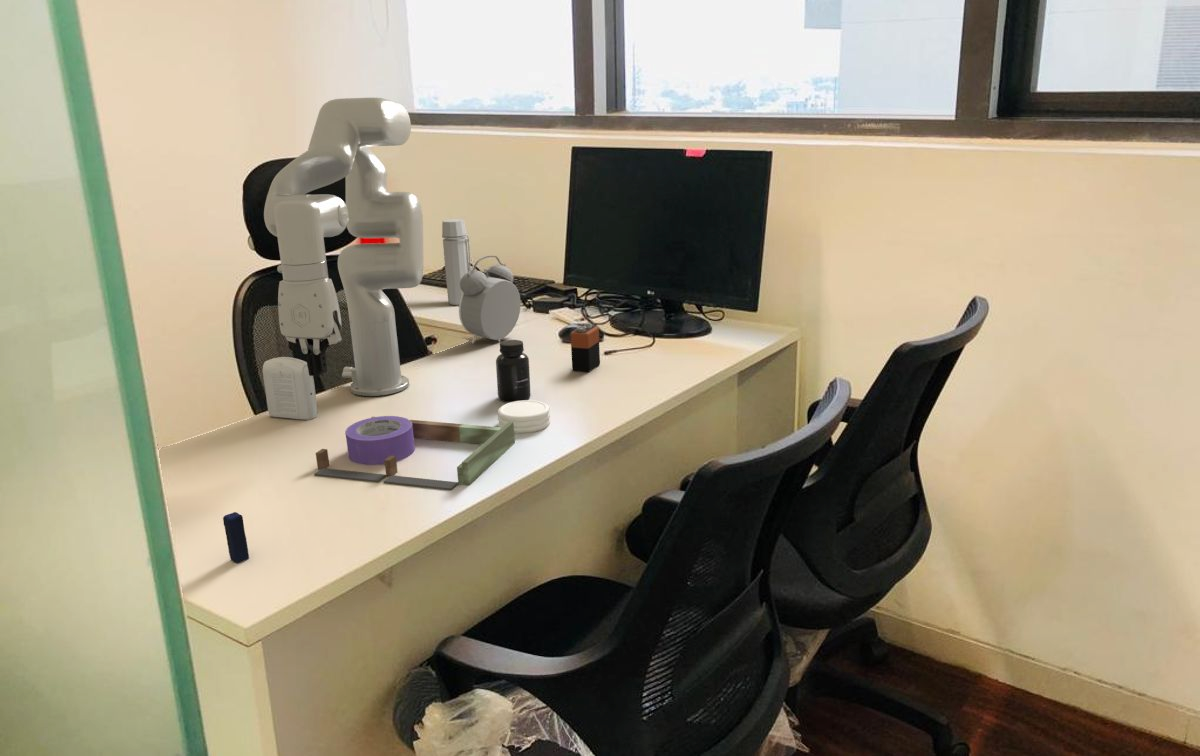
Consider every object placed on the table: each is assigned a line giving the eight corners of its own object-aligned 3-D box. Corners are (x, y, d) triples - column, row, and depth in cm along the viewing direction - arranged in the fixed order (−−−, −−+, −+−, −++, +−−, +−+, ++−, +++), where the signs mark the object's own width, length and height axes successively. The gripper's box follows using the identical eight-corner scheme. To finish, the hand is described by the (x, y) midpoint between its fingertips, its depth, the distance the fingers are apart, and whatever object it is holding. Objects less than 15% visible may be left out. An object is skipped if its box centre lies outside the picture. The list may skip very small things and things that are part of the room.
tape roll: (381, 470, 158) (378, 443, 157) (334, 458, 164) (330, 432, 163) (428, 447, 168) (425, 421, 166) (381, 436, 174) (379, 411, 172)
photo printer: (321, 414, 187) (313, 356, 183) (309, 421, 183) (301, 362, 179) (278, 410, 190) (270, 353, 186) (265, 418, 186) (256, 359, 182)
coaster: (492, 421, 180) (490, 404, 179) (540, 412, 183) (539, 396, 182) (508, 438, 171) (506, 420, 170) (558, 428, 175) (557, 411, 174)
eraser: (236, 564, 128) (228, 520, 126) (228, 559, 130) (221, 515, 128) (250, 558, 130) (243, 514, 128) (243, 553, 131) (236, 510, 129)
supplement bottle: (525, 403, 188) (522, 347, 185) (494, 402, 190) (489, 346, 186) (534, 392, 195) (531, 338, 191) (503, 391, 196) (500, 337, 192)
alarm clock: (501, 331, 245) (495, 249, 238) (526, 335, 240) (521, 251, 233) (458, 346, 232) (450, 260, 225) (483, 350, 227) (476, 262, 220)
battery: (571, 371, 208) (569, 328, 205) (583, 362, 214) (581, 321, 211) (589, 373, 207) (587, 330, 204) (600, 364, 213) (599, 322, 210)
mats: (314, 475, 157) (314, 473, 157) (322, 469, 159) (322, 467, 159) (451, 490, 149) (451, 488, 149) (458, 483, 151) (458, 482, 151)
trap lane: (317, 469, 160) (314, 447, 158) (375, 430, 177) (373, 410, 176) (469, 485, 151) (467, 462, 150) (514, 442, 168) (513, 422, 167)
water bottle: (444, 306, 275) (436, 222, 267) (452, 300, 282) (445, 218, 275) (474, 306, 273) (467, 222, 266) (481, 300, 281) (475, 218, 273)
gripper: (255, 275, 158) (269, 377, 163) (329, 277, 154) (342, 382, 159) (282, 267, 165) (295, 366, 170) (354, 269, 160) (366, 370, 166)
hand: (318, 373), depth 164 cm, fingers closed
